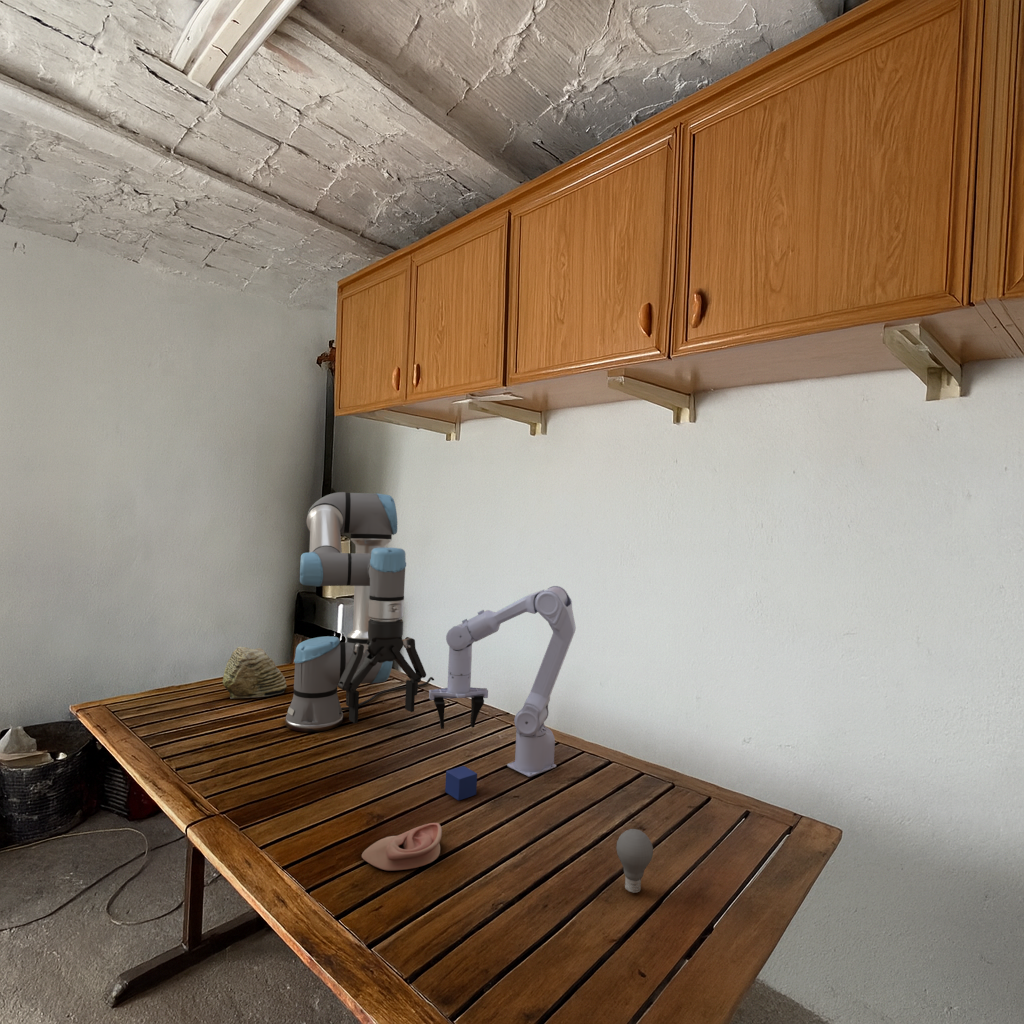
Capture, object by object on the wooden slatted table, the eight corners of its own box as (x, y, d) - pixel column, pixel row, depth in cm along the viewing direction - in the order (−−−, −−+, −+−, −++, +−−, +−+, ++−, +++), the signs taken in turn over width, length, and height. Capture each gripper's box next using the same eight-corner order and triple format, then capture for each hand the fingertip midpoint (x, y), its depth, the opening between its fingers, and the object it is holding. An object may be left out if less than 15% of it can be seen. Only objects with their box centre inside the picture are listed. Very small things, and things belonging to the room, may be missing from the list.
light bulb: (610, 879, 108) (613, 822, 108) (644, 879, 109) (647, 822, 109) (619, 902, 102) (622, 840, 102) (655, 901, 103) (658, 840, 103)
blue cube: (458, 800, 135) (459, 779, 135) (445, 792, 138) (445, 770, 138) (476, 794, 138) (477, 773, 138) (462, 786, 142) (463, 765, 141)
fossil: (218, 695, 195) (220, 647, 195) (278, 685, 208) (279, 640, 207) (228, 703, 189) (230, 653, 188) (289, 692, 201) (290, 645, 201)
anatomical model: (354, 842, 109) (381, 811, 120) (353, 865, 109) (380, 831, 121) (427, 854, 107) (448, 821, 118) (426, 877, 107) (447, 842, 118)
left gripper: (339, 626, 127) (335, 731, 127) (443, 616, 143) (439, 710, 143) (324, 620, 133) (320, 721, 133) (425, 612, 149) (422, 701, 149)
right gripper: (432, 677, 152) (429, 733, 152) (491, 676, 156) (488, 731, 156) (429, 669, 159) (426, 723, 159) (485, 668, 162) (483, 721, 163)
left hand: (382, 715), depth 138 cm, fingers open, 13 cm apart
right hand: (457, 726), depth 158 cm, fingers open, 7 cm apart
